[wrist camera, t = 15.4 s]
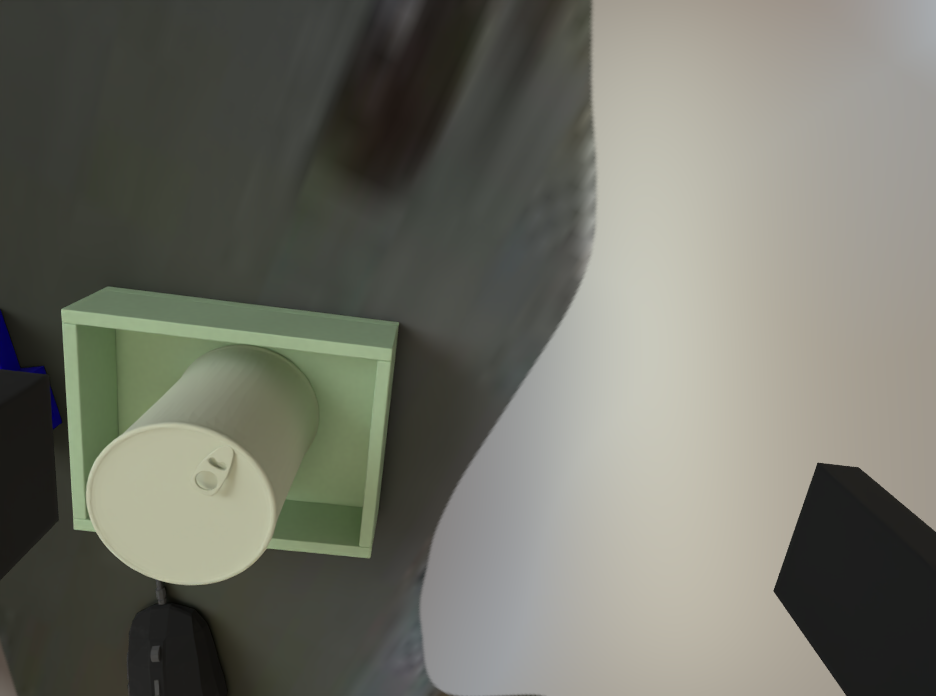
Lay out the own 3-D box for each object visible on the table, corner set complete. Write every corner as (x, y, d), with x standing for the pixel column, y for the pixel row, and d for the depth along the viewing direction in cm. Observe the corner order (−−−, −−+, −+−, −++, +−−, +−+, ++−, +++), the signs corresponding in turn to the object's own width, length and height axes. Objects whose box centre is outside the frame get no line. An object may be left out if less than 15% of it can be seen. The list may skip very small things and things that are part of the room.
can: (347, 399, 43) (312, 499, 32) (268, 497, 45) (209, 623, 34) (225, 315, 41) (141, 389, 30) (148, 422, 43) (43, 528, 32)
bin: (107, 286, 41) (60, 308, 36) (399, 322, 42) (392, 349, 37) (114, 485, 46) (73, 530, 41) (378, 512, 47) (369, 558, 42)
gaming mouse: (201, 561, 48) (179, 599, 44) (235, 718, 53) (219, 765, 49) (113, 567, 48) (84, 605, 44) (156, 724, 52) (133, 771, 49)
